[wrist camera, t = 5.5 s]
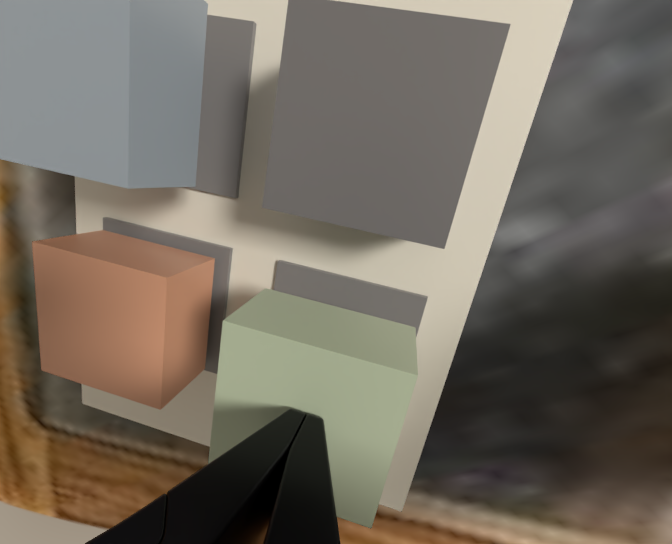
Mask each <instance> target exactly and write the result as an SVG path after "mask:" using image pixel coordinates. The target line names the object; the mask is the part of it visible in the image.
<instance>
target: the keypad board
mask: <svg viewBox="0 0 672 544" xmlns="http://www.w3.org/2000/svg"><path fill="white" fill-rule="evenodd" d="M204 1H206V2H207V3H208V12H207V27H206V41H205V56H204V71H203V85H202V100H201V114H200V129H199V143H198V158H197V172H196V187H166V188H132V189H127V188H123V187H119V186H115V185H110V184H106V183H102V182H97V181H93V180H89V179H84V178H80V177H76V176H75V203H76V233H77V234H81V233H87V232H94V231H100V230H105V231H109V232H113V233H117V234H121V235H125V236H129V237H133V238H137V239H141V240H145V241H148V242H152V243H156V244H160V245H164V246H168V247H172V248H176V249H180V250H184V251H188V252H192V253H196V254H200V255H204V256H208V257H211V258H215V264H214V275H213V286H212V297H211V308H210V319H209V330H208V341H207V352H206V363H205V369H204V370H203V371H202V372H201V373H200V374H199V375H198V376H197V377H196V378H195V379H193V380H192V381H191V382H190V383H189V384H188V385H187V386H186V387H185V388H184V389H183V390H182V391H181V392H179V393H178V394H177V395H176V396H175V397H174V398H173V399H172V400H171V401H170V402H169V403H168V404H167V405H165V406H164V407H163V408H162V409H161V410H159V409H156V408H153V407H150V406H147V405H144V404H141V403H138V402H135V401H132V400H129V399H126V398H123V397H120V396H117V395H114V394H111V393H108V392H105V391H102V390H99V389H96V388H93V387H90V386H87V385H84V384H82V404H85V405H88V406H91V407H94V408H96V409H99V410H102V411H105V412H108V413H111V414H114V415H117V416H120V417H123V418H126V419H129V420H132V421H135V422H138V423H141V424H144V425H147V426H150V427H153V428H156V429H159V430H162V431H164V432H167V433H170V434H173V435H176V436H179V437H182V438H185V439H188V440H191V441H194V442H197V443H200V444H203V445H206V446H209V447H210V440H211V430H212V421H213V411H214V401H215V392H216V382H217V372H218V363H219V353H220V343H221V334H222V324H223V320H224V319H226V318H227V317H228V316H230V315H231V314H232V313H234V312H235V311H236V310H238V309H239V308H240V307H242V306H243V305H244V304H246V303H247V302H248V301H249V300H251V299H252V298H253V297H255V296H256V295H257V294H259V293H260V292H261V291H263V290H264V289H265V288H267V289H271V290H275V291H279V292H282V293H286V294H290V295H294V296H298V297H302V298H305V299H309V300H313V301H317V302H321V303H325V304H328V305H332V306H336V307H340V308H344V309H348V310H351V311H355V312H359V313H363V314H367V315H370V316H374V317H378V318H382V319H386V320H390V321H393V322H397V323H401V324H405V325H409V326H413V327H415V328H416V347H417V366H418V377H417V380H416V384H415V387H414V390H413V393H412V397H411V400H410V403H409V407H408V410H407V413H406V416H405V420H404V423H403V426H402V429H401V433H400V436H399V439H398V443H397V446H396V449H395V452H394V456H393V459H392V462H391V465H390V469H389V472H388V475H387V479H386V482H385V485H384V488H383V492H382V495H381V498H380V501H379V504H380V505H383V506H386V507H389V508H392V509H395V510H398V511H401V512H402V509H403V506H404V503H405V500H406V497H407V494H408V491H409V488H410V485H411V483H412V480H413V477H414V474H415V471H416V468H417V465H418V462H419V459H420V456H421V453H422V450H423V447H424V444H425V441H426V438H427V435H428V432H429V429H430V426H431V423H432V420H433V417H434V414H435V411H436V408H437V405H438V402H439V399H440V396H441V393H442V390H443V387H444V384H445V381H446V378H447V375H448V372H449V369H450V366H451V363H452V360H453V357H454V354H455V351H456V348H457V345H458V342H459V339H460V336H461V333H462V330H463V327H464V324H465V321H466V318H467V315H468V312H469V309H470V306H471V303H472V300H473V297H474V294H475V291H476V288H477V285H478V282H479V279H480V277H481V274H482V271H483V268H484V265H485V262H486V259H487V256H488V253H489V250H490V247H491V244H492V241H493V238H494V235H495V232H496V229H497V226H498V223H499V220H500V217H501V214H502V211H503V208H504V205H505V202H506V199H507V196H508V193H509V190H510V187H511V184H512V181H513V178H514V175H515V172H516V169H517V166H518V163H519V160H520V157H521V154H522V151H523V148H524V145H525V142H526V139H527V136H528V133H529V130H530V127H531V124H532V121H533V118H534V115H535V112H536V109H537V106H538V103H539V100H540V97H541V94H542V91H543V88H544V85H545V82H546V79H547V76H548V74H549V71H550V68H551V65H552V62H553V59H554V56H555V53H556V50H557V47H558V44H559V41H560V38H561V35H562V32H563V29H564V26H565V23H566V20H567V17H568V14H569V11H570V8H571V5H572V2H573V0H333V1H341V2H349V3H356V4H364V5H371V6H379V7H386V8H394V9H401V10H409V11H416V12H424V13H432V14H439V15H447V16H454V17H462V18H469V19H477V20H484V21H492V22H500V23H507V24H511V25H510V28H509V32H508V35H507V39H506V42H505V45H504V49H503V52H502V55H501V59H500V62H499V66H498V69H497V72H496V76H495V79H494V83H493V86H492V89H491V93H490V96H489V100H488V103H487V106H486V110H485V113H484V117H483V120H482V123H481V127H480V130H479V134H478V137H477V140H476V144H475V147H474V151H473V154H472V157H471V161H470V164H469V167H468V171H467V174H466V178H465V181H464V184H463V188H462V191H461V195H460V198H459V201H458V205H457V208H456V212H455V215H454V218H453V222H452V225H451V229H450V232H449V235H448V239H447V242H446V246H445V249H442V248H437V247H433V246H428V245H424V244H419V243H415V242H411V241H406V240H402V239H397V238H393V237H389V236H384V235H380V234H375V233H371V232H367V231H362V230H358V229H353V228H349V227H344V226H340V225H336V224H331V223H327V222H322V221H318V220H314V219H309V218H305V217H300V216H296V215H292V214H287V213H283V212H278V211H274V210H270V209H265V208H262V203H263V196H264V188H265V180H266V172H267V164H268V156H269V148H270V140H271V133H272V125H273V117H274V109H275V101H276V93H277V85H278V78H279V70H280V62H281V54H282V46H283V38H284V30H285V22H286V15H287V7H288V0H204Z"/></svg>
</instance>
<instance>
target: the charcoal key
mask: <svg viewBox="0 0 672 544" xmlns="http://www.w3.org/2000/svg"><path fill="white" fill-rule="evenodd" d="M510 25H511V24H507V23H500V22H492V21H484V20H477V19H469V18H462V17H454V16H447V15H439V14H432V13H424V12H416V11H409V10H401V9H394V8H386V7H379V6H371V5H364V4H356V3H349V2H341V1H333V0H288V7H287V15H286V22H285V30H284V38H283V46H282V54H281V62H280V70H279V78H278V85H277V93H276V101H275V109H274V117H273V125H272V133H271V140H270V148H269V156H268V164H267V172H266V180H265V188H264V196H263V203H262V208H265V209H270V210H274V211H278V212H283V213H287V214H292V215H296V216H300V217H305V218H309V219H314V220H318V221H322V222H327V223H331V224H336V225H340V226H344V227H349V228H353V229H358V230H362V231H367V232H371V233H375V234H380V235H384V236H389V237H393V238H397V239H402V240H406V241H411V242H415V243H419V244H424V245H428V246H433V247H437V248H442V249H445V246H446V242H447V239H448V235H449V232H450V229H451V225H452V222H453V218H454V215H455V212H456V208H457V205H458V201H459V198H460V195H461V191H462V188H463V184H464V181H465V178H466V174H467V171H468V167H469V164H470V161H471V157H472V154H473V151H474V147H475V144H476V140H477V137H478V134H479V130H480V127H481V123H482V120H483V117H484V113H485V110H486V106H487V103H488V100H489V96H490V93H491V89H492V86H493V83H494V79H495V76H496V72H497V69H498V66H499V62H500V59H501V55H502V52H503V49H504V45H505V42H506V39H507V35H508V32H509V28H510Z"/></svg>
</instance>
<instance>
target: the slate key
mask: <svg viewBox="0 0 672 544" xmlns="http://www.w3.org/2000/svg"><path fill="white" fill-rule="evenodd" d="M207 12H208V3H207V2H206V1H204V0H0V159H2V160H7V161H11V162H15V163H20V164H24V165H28V166H33V167H37V168H41V169H46V170H50V171H54V172H58V173H63V174H67V175H71V176H76V177H80V178H84V179H89V180H93V181H97V182H102V183H106V184H110V185H115V186H119V187H123V188H127V189H132V188H166V187H196V172H197V158H198V143H199V129H200V114H201V100H202V85H203V71H204V56H205V41H206V27H207Z"/></svg>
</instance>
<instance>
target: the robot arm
mask: <svg viewBox="0 0 672 544" xmlns="http://www.w3.org/2000/svg"><path fill="white" fill-rule="evenodd" d="M85 544H340V538H339V530H338V523H337V516H336V508H335V501H334V493H333V486H332V478H331V471H330V463H329V456H328V448H327V441H326V434H325V426H324V420H323V419H322V418H321V417H318V416H315V415H311V414H308V415H306V414H305V413H304V412H302V411H299V410H295V409H289V410H287V411H286V412H284V413H283V414H281V415H280V416H278V417H277V418H275V419H274V420H272V421H271V422H269V423H268V424H266V425H265V426H263V427H262V428H260V429H259V430H258V431H256V432H255V433H253V434H252V435H250V436H249V437H247V438H246V439H244V440H243V441H241V442H240V443H238V444H237V445H235V446H234V447H232V448H231V449H230V450H228V451H227V452H225V453H224V454H222V455H221V456H219V457H218V458H216V459H215V460H213V461H212V462H210V463H209V464H207V465H206V466H204V467H203V468H201V469H200V470H199V471H197V472H196V473H194V474H193V475H191V476H190V477H188V478H187V479H185V480H184V481H182V482H181V483H179V484H178V485H176V486H175V487H173V488H172V489H171V490H169V491H168V492H167V495H166V494H163V495H161V496H160V497H158V498H157V499H155V500H154V501H153V502H151V503H150V504H148V505H147V506H145V507H144V508H142V509H140V510H139V511H137V512H136V513H134V514H133V515H131V516H130V517H128V518H126V519H125V520H123V521H122V522H120V523H119V524H117V525H116V526H114V527H112V528H110V529H109V530H107V531H105V532H104V533H102V534H100V535H99V536H97V537H95V538H93V539H92V540H90V541H88V542H87V543H85Z"/></svg>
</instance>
